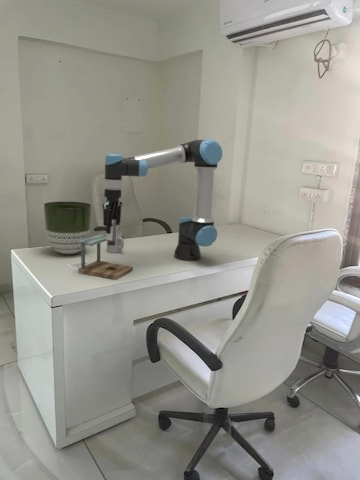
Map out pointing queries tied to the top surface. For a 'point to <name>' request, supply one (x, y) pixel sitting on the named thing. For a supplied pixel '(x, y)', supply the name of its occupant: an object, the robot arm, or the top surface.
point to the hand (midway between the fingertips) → (111, 239)
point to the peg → (113, 233)
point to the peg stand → (101, 262)
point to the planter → (67, 225)
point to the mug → (118, 246)
